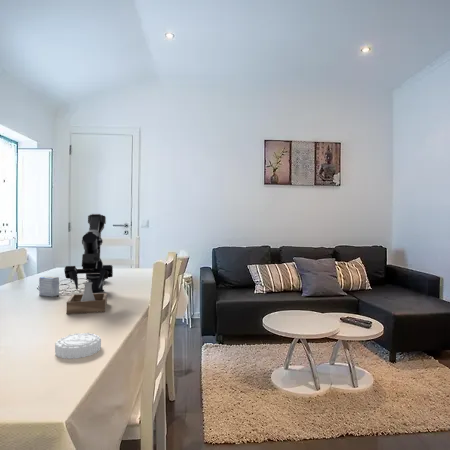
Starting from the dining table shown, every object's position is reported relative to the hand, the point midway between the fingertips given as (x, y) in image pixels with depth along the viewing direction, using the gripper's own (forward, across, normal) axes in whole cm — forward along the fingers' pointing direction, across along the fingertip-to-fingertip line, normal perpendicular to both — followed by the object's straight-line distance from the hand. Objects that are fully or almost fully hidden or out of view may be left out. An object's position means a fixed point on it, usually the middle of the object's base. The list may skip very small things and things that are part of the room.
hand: (87, 288), depth 139 cm
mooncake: (+38, +2, -25) cm, 45 cm away
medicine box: (-15, -20, +28) cm, 37 cm away
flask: (+5, 0, +7) cm, 8 cm away
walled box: (+5, 0, +7) cm, 9 cm away
